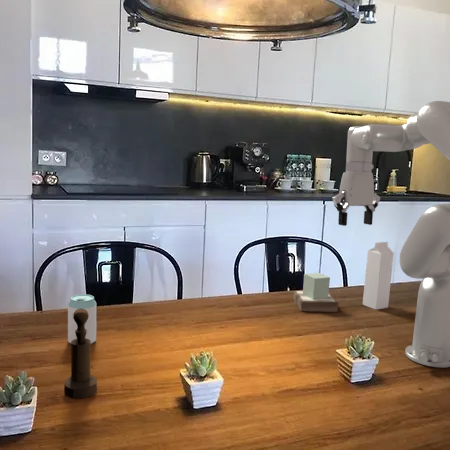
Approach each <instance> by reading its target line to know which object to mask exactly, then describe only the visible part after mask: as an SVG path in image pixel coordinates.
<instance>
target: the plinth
mask: <svg viewBox="0 0 450 450" xmlns="http://www.w3.org/2000/svg"><path fill="white" fill-rule="evenodd" d="M292 294H293V295H292V301H294V304H295V305H296V306H297V307H298V309H299V311H301V312H331V313H333V312H334V313H336V312H339V310H338V309H339V302H338V300H336V299H335V297H333V296H332V294H331V293H329V294H328V298H323V299H311V298H309V297H307V296H305V295H303V290H294V291H293V292H292Z"/></svg>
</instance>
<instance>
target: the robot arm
mask: <svg viewBox="0 0 450 450" xmlns="http://www.w3.org/2000/svg"><path fill="white" fill-rule="evenodd" d="M346 142H347V144H346V158H345V159H346V161H345V162H346V163H345V172H343V173H342V176H341V181H340V185H339V193H337V194H336V195H334V196H333V197H332V199H331V200H332V202H333V204H334V205H333V206H334V207H335V209H336V211H337V212H338V223H337V224H338V226H344V227H346V226H348V212H347V210H348V209H349V208H350V207H364V209H365V210H364V213H363V224H364V225H369V226H372V225H373V217H374V212H375V211H376V208H377V207H378V206H379V203H380V200H381V196H379V195H378V194H377V193H375V184H374V175H373V172H372V171H373V169H374V164H373V154H374V153H373V152H389V153H391V152H392V153H396V152H405V151H408V150H414V149H418V148H420V147H422V146H425V145H432V146H433V147H434V148H435V149H436V150H437V151H438V152H440V153H441V154H442V155H443V156H444V157H445V158H446V159H447V160H449V161H450V101H443V100H434V101H430V102H428V103H426V104H425V105H423V106H422V107H421V108H420V109H419V111H417V112H415V113H413V114H411V115H410V116H409V118H408V119H407V121H406V123H404V124H401V125H393V124H392V125H391V124H377V123H375V124H374V123H372V124H367V125H355V126H351V127H349V129H348V130H347V140H346ZM399 266H400V269H401V270H402V272H403V273H404V274H405V275H406V276H407V277H409V278H412V279H417V280H418V279H419V280H420V279H421V282H420V284H419V288H418V291H417V292H418V294H417V299H416V300H417V302H416V310H415V319H414V325H413V326H414V327H413V328H414V329H413V334H412V335H413V337H412V344H411V345H408V346H407V347H405V351H404V352H405V353H404V354H405V356H406V357H407V358H409V359H410V361H413V362H415V363H417V364H420V365H423V366H427V367H432V368H443V369H444V368H450V203H438V204H435V205H432V206H430V207H428V208H427V209H426V210H424V212H423V213H422V214H421V215H420V217H419V218H418V220H417V221H416V222H415V225H414V226H413V228H412V229H411V232H410V234H409V235H408V237H407V238H406V240H405V242H404V244H403V245H402V247H401V250H400V252H399Z"/></svg>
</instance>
